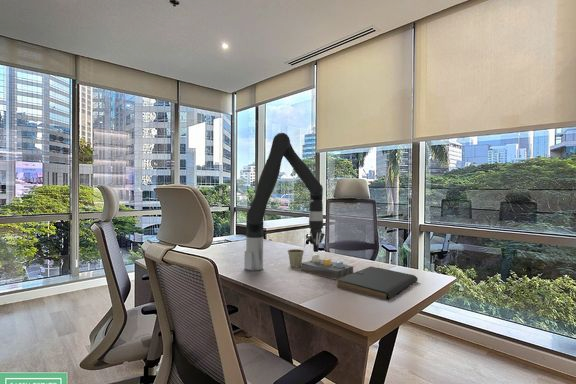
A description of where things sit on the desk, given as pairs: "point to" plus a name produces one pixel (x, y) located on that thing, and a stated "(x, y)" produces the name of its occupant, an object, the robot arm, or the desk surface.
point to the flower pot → (295, 257)
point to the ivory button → (315, 258)
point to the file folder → (377, 282)
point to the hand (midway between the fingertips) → (315, 251)
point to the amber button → (327, 262)
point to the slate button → (339, 264)
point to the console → (326, 269)
